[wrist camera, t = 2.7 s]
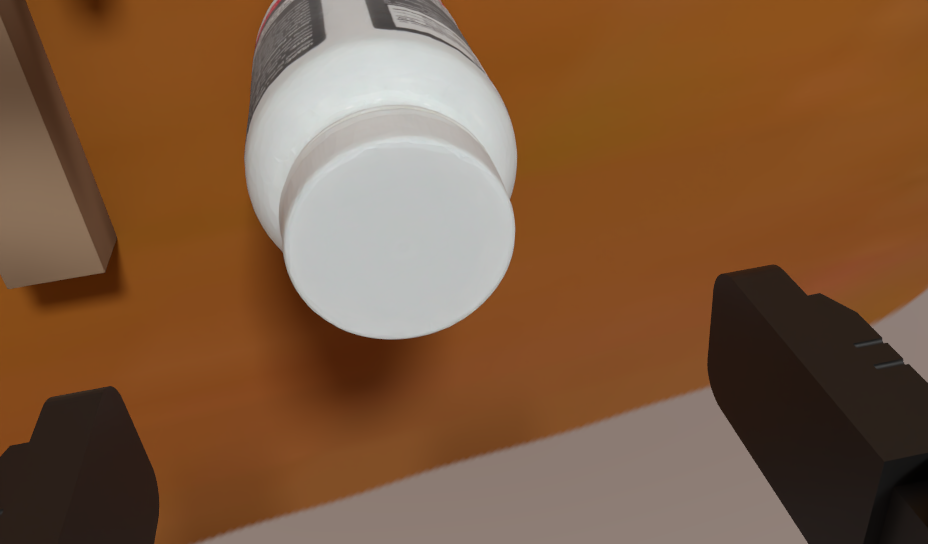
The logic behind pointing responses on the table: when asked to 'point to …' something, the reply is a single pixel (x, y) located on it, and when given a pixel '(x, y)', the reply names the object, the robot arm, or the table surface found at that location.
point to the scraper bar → (43, 169)
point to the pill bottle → (380, 163)
